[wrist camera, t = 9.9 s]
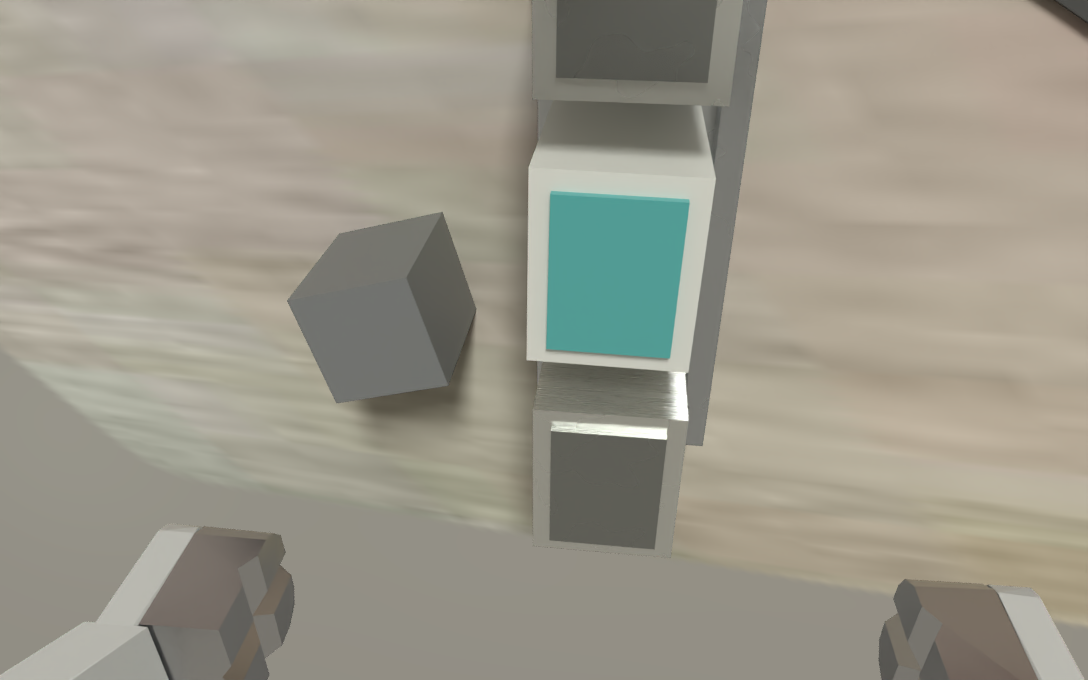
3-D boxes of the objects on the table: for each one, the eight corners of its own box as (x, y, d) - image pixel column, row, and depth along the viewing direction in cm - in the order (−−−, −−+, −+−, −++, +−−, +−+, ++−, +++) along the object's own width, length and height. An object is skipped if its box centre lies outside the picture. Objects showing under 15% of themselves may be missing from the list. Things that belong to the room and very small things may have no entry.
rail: (542, 382, 31) (508, 560, 24) (547, -204, 21) (489, -229, 13) (697, 392, 31) (714, 579, 23) (777, -204, 21) (856, -229, 13)
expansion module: (554, 241, 26) (525, 364, 20) (559, 83, 23) (527, 170, 17) (678, 249, 25) (688, 377, 19) (698, 90, 23) (716, 182, 17)
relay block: (379, 326, 31) (336, 403, 27) (339, 233, 29) (286, 300, 25) (476, 308, 30) (448, 385, 26) (442, 211, 28) (406, 277, 24)
